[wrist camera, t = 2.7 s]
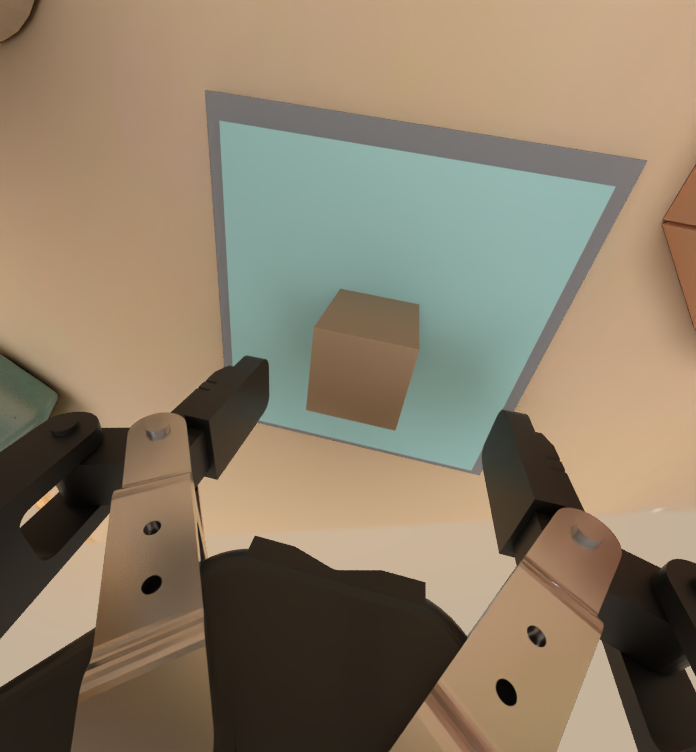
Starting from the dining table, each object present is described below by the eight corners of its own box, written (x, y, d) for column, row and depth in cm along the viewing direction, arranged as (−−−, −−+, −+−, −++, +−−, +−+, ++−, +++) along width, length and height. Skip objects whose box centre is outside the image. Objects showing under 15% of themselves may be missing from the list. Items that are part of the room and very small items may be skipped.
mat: (231, 411, 24) (227, 415, 24) (211, 92, 14) (205, 89, 14) (478, 469, 23) (479, 475, 22) (640, 161, 13) (647, 160, 13)
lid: (240, 407, 23) (192, 470, 18) (228, 123, 14) (131, 96, 10) (469, 461, 22) (484, 543, 17) (605, 185, 13) (715, 192, 8)
